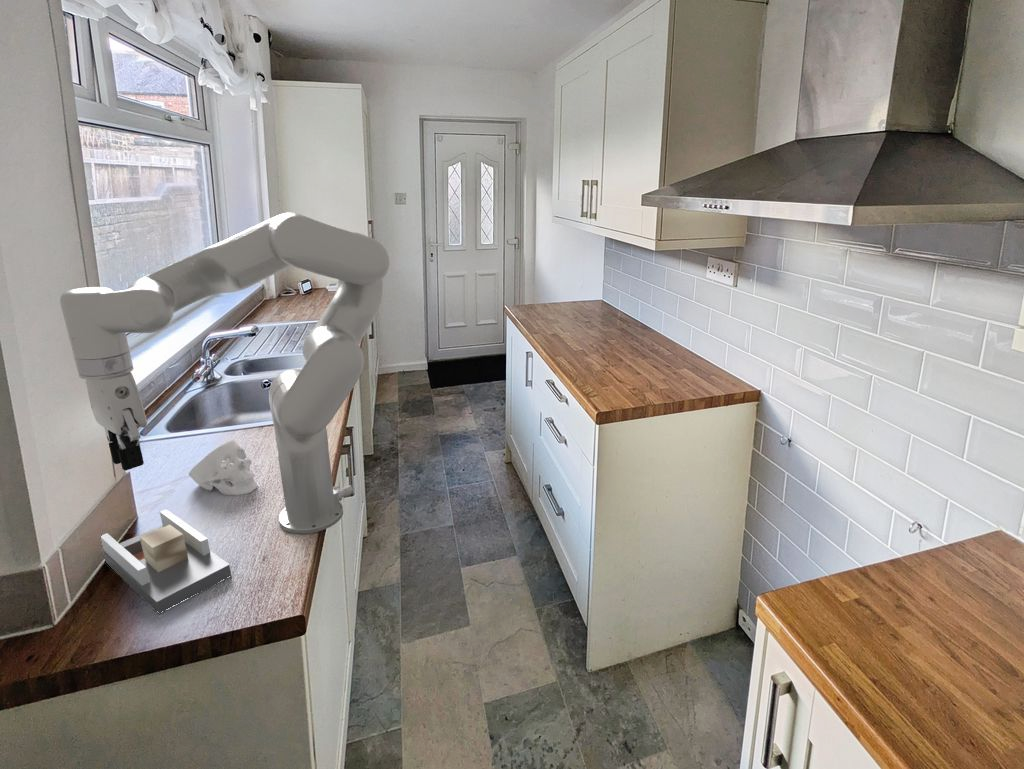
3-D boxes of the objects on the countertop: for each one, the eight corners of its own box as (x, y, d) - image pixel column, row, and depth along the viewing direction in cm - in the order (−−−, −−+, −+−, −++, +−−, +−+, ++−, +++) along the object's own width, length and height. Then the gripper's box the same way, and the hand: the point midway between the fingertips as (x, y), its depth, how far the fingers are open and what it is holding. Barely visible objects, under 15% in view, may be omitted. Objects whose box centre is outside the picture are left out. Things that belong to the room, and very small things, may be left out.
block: (174, 547, 106) (169, 524, 105) (188, 558, 103) (183, 534, 102) (145, 561, 103) (139, 537, 101) (158, 572, 100) (152, 547, 98)
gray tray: (104, 562, 106) (97, 536, 104) (173, 532, 115) (167, 508, 113) (159, 614, 94) (152, 586, 92) (231, 576, 103) (226, 550, 101)
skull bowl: (242, 498, 125) (210, 450, 123) (205, 518, 131) (173, 473, 129) (276, 475, 134) (245, 430, 133) (239, 495, 140) (210, 453, 139)
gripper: (151, 367, 94) (173, 469, 100) (110, 350, 103) (132, 444, 109) (98, 380, 88) (125, 487, 94) (59, 360, 97) (86, 458, 103)
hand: (128, 463), depth 102 cm, fingers open, 3 cm apart
